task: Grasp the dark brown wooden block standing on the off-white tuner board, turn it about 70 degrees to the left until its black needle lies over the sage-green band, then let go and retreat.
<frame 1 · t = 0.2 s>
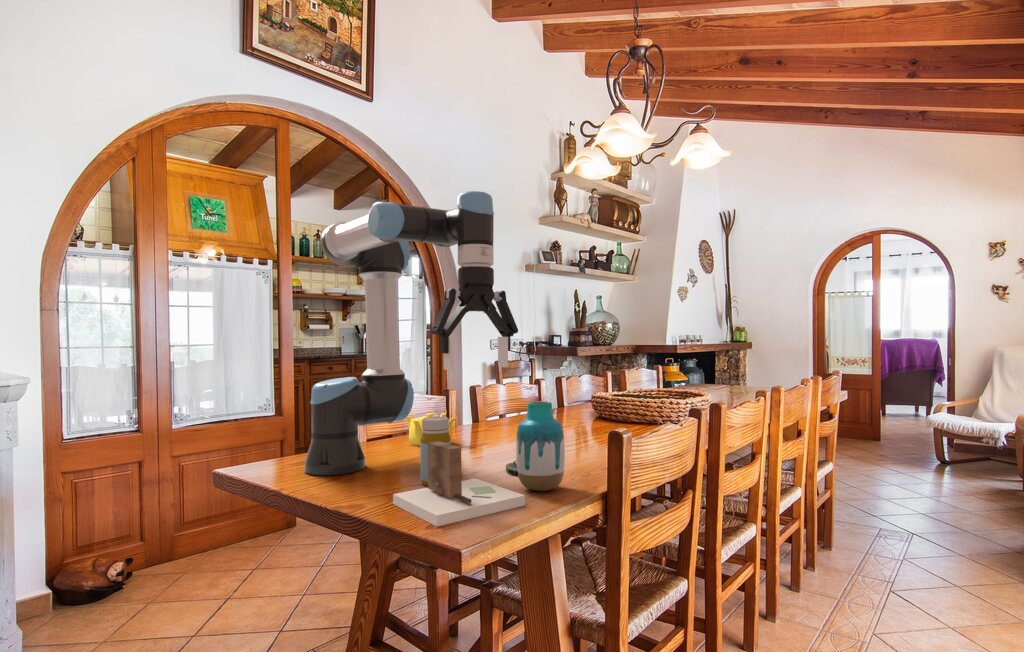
hand: (476, 368, 120), 27 cm above the table, fingers open, 13 cm apart
brown wooden block: (450, 470, 114), point 7 cm above the table, hinge at 0.0°
log: (525, 473, 144), on the table
vase: (541, 490, 126), on the table
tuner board: (458, 504, 116), on the table
bottle: (436, 484, 133), on the table
teapot: (430, 444, 183), on the table
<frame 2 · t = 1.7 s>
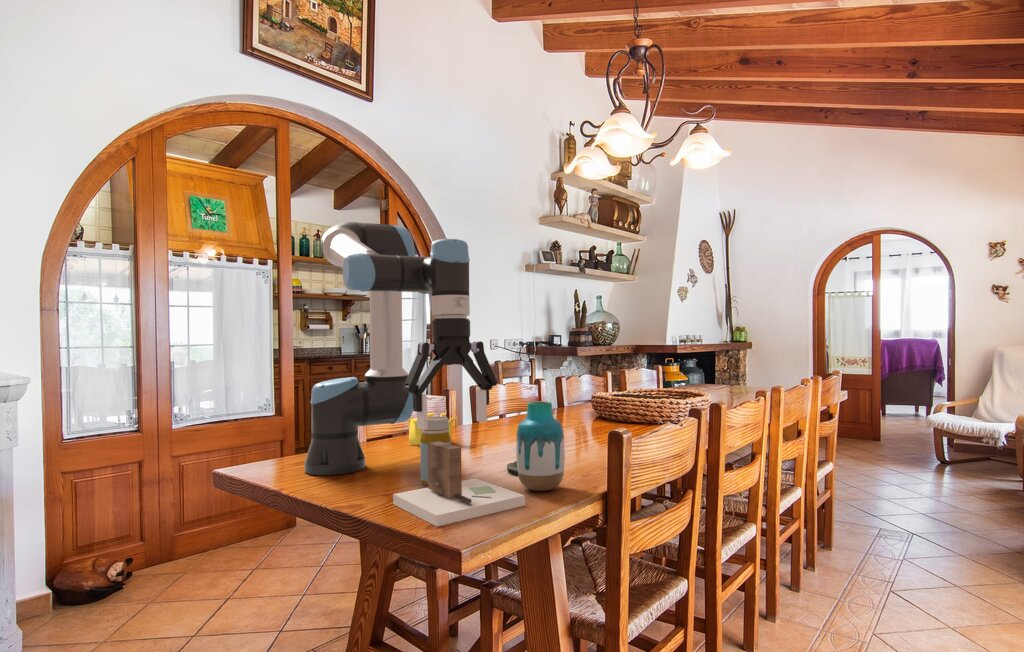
hand: (453, 425, 114), 16 cm above the table, fingers open, 13 cm apart
nothing on the table moved.
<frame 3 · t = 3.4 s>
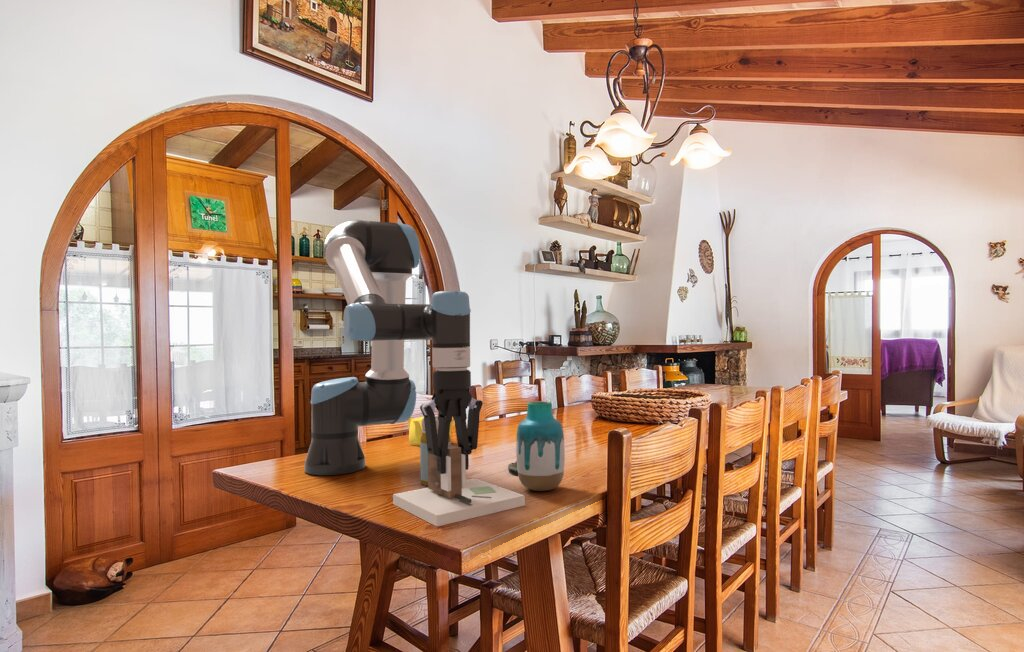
hand: (453, 487, 114), 4 cm above the table, fingers closed on brown wooden block, 3 cm apart
brown wooden block: (450, 470, 114), point 7 cm above the table, hinge at 0.0°, touching gripper
everything else where it was.
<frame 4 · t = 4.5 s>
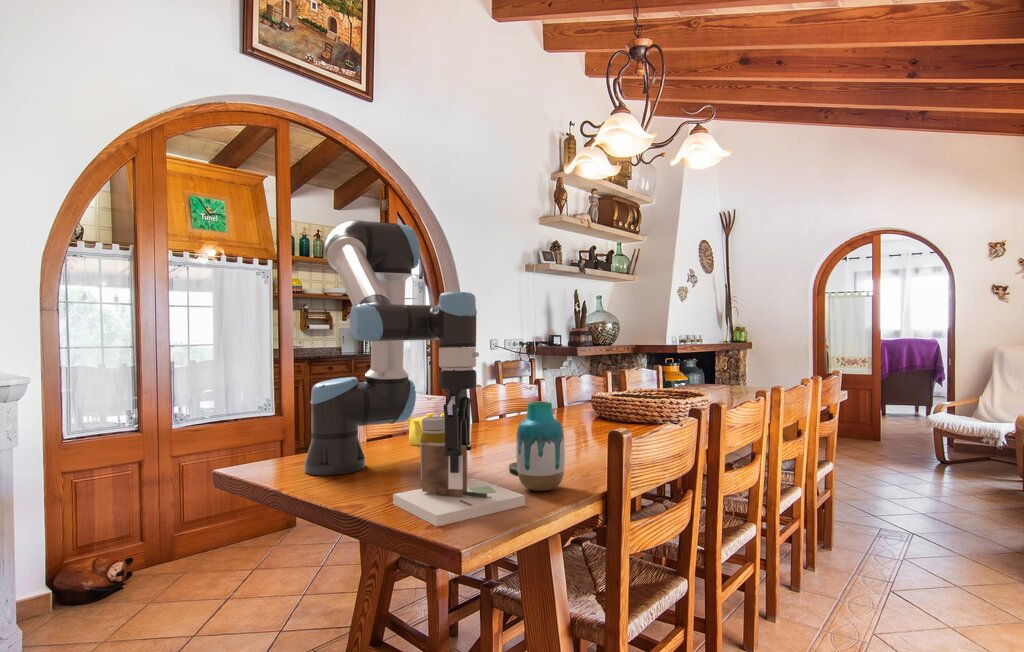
hand: (458, 485, 115), 4 cm above the table, fingers closed on brown wooden block, 3 cm apart
brown wooden block: (454, 469, 115), point 7 cm above the table, hinge at 28.7°, touching gripper
everything else where it was.
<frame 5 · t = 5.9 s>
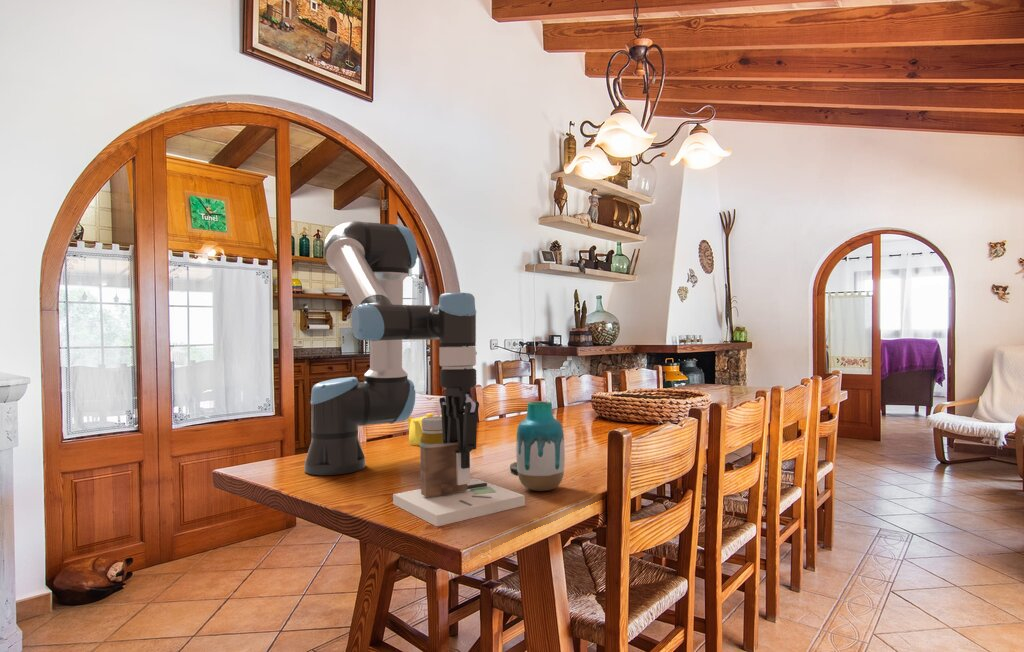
hand: (459, 481, 118), 4 cm above the table, fingers closed on brown wooden block, 3 cm apart
brown wooden block: (455, 467, 118), point 7 cm above the table, hinge at 83.0°, touching gripper
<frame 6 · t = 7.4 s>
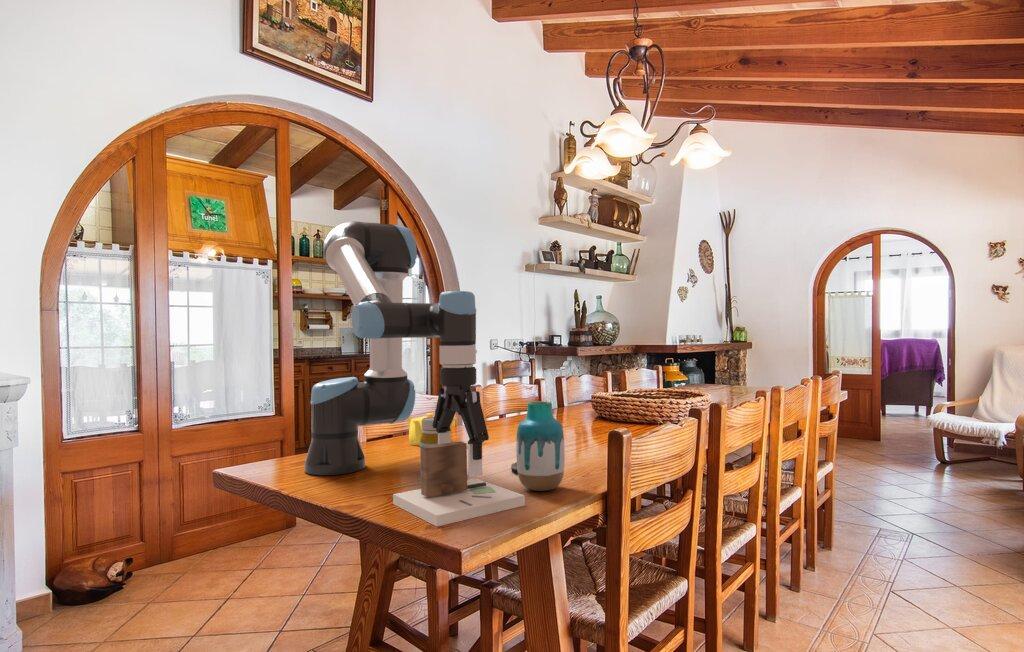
hand: (459, 469, 118), 7 cm above the table, fingers open, 13 cm apart
brown wooden block: (455, 467, 118), point 7 cm above the table, hinge at 85.1°
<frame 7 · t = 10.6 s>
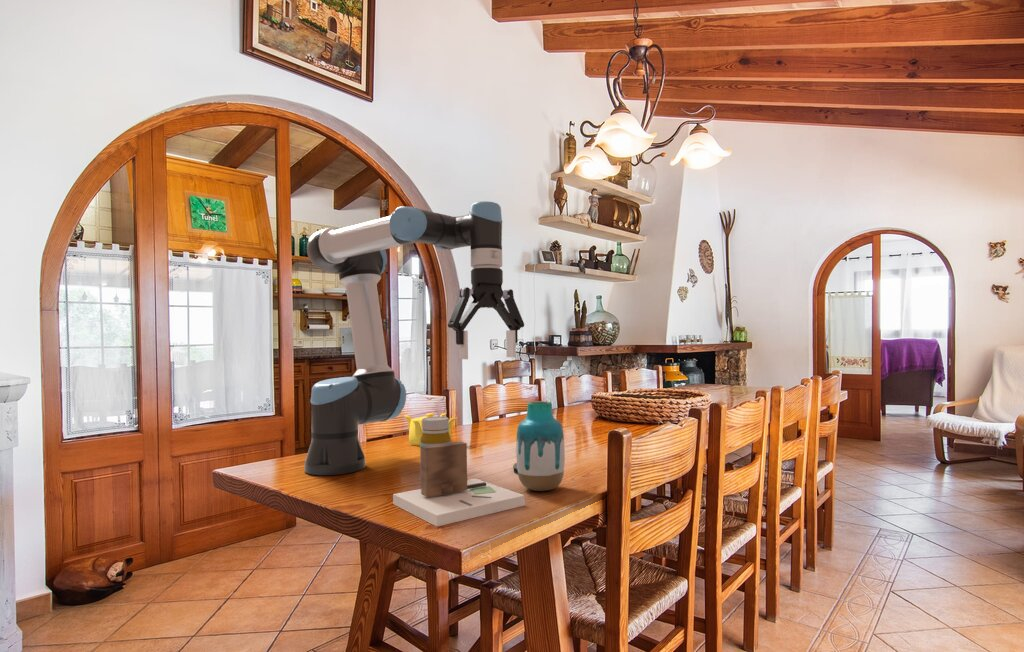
hand: (488, 358, 136), 29 cm above the table, fingers open, 13 cm apart
at the end: brown wooden block at +85° (first picture: +0°); the gripper is holding nothing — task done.
